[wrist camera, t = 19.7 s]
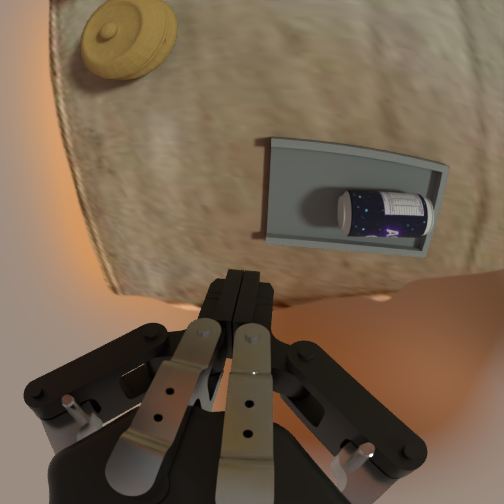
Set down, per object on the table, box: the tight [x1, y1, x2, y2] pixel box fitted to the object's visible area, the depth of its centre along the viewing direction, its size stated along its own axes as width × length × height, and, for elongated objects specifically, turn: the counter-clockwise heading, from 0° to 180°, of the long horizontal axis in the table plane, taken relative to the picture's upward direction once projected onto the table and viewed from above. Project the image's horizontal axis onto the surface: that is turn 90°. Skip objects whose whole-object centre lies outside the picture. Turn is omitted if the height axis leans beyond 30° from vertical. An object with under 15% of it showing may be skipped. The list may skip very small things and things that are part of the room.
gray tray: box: [266, 137, 449, 258], centre depth 35 cm, size 24×14×2 cm, turn 88°
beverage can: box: [337, 190, 434, 238], centre depth 33 cm, size 6×6×12 cm
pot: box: [80, 0, 178, 80], centre depth 23 cm, size 12×12×10 cm
